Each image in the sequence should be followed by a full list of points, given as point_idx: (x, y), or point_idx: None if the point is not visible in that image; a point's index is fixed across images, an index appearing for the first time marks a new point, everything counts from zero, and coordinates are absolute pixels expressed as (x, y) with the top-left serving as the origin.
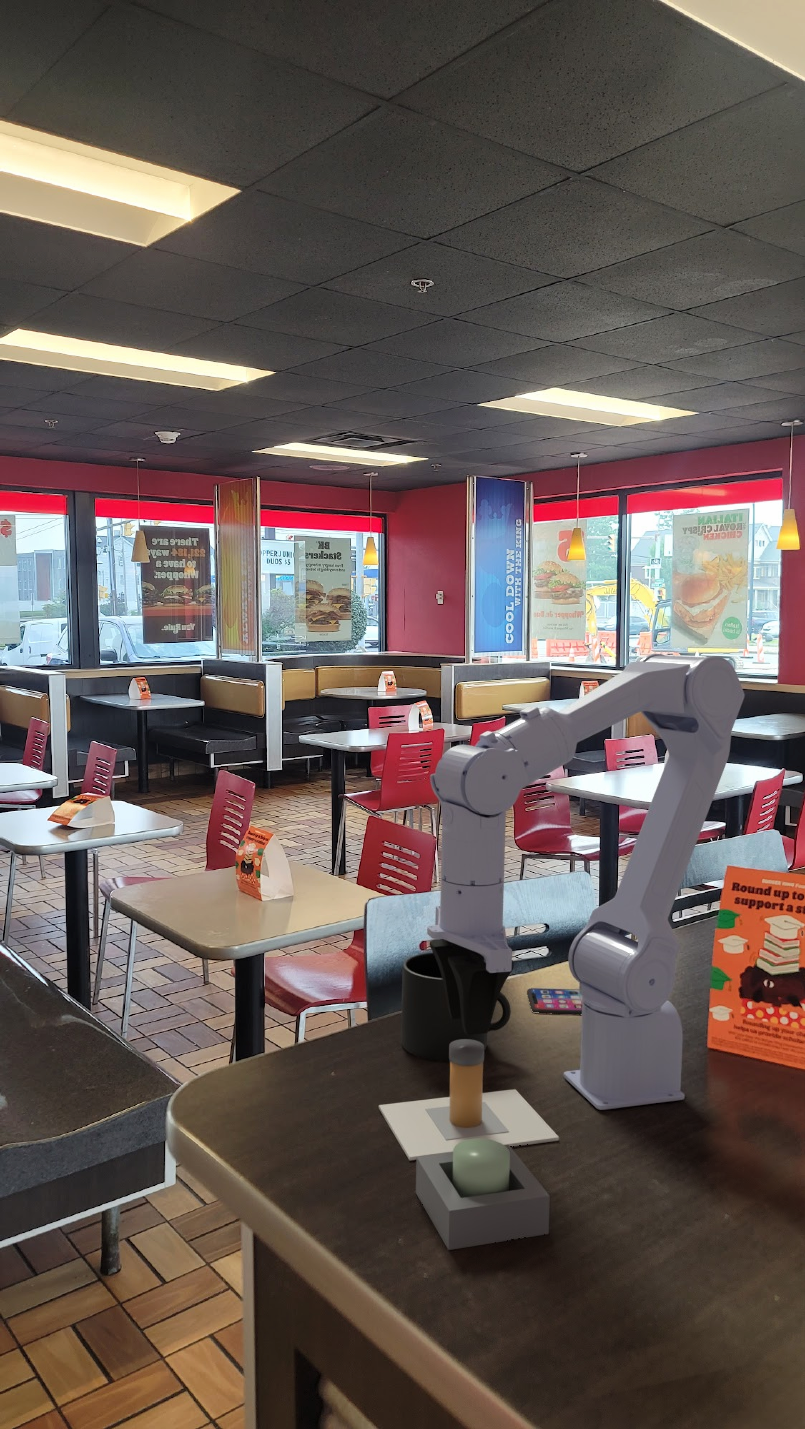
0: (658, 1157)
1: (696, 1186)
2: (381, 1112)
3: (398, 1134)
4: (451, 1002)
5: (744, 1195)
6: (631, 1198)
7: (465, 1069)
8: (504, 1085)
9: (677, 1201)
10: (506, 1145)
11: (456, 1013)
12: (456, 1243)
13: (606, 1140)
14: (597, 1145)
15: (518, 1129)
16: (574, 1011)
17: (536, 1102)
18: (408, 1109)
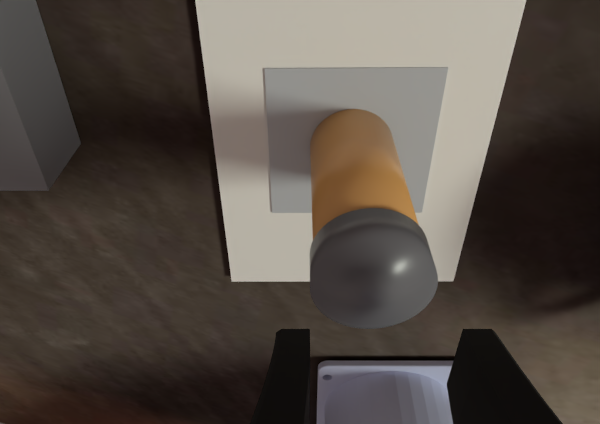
0: (155, 368)
1: (67, 375)
2: None
3: None
4: (490, 393)
5: (45, 405)
6: (23, 299)
7: (317, 229)
8: (491, 268)
9: (20, 343)
10: (42, 184)
11: (464, 360)
12: None
13: (219, 334)
14: (204, 318)
15: (279, 231)
16: None
17: None
18: (472, 19)
